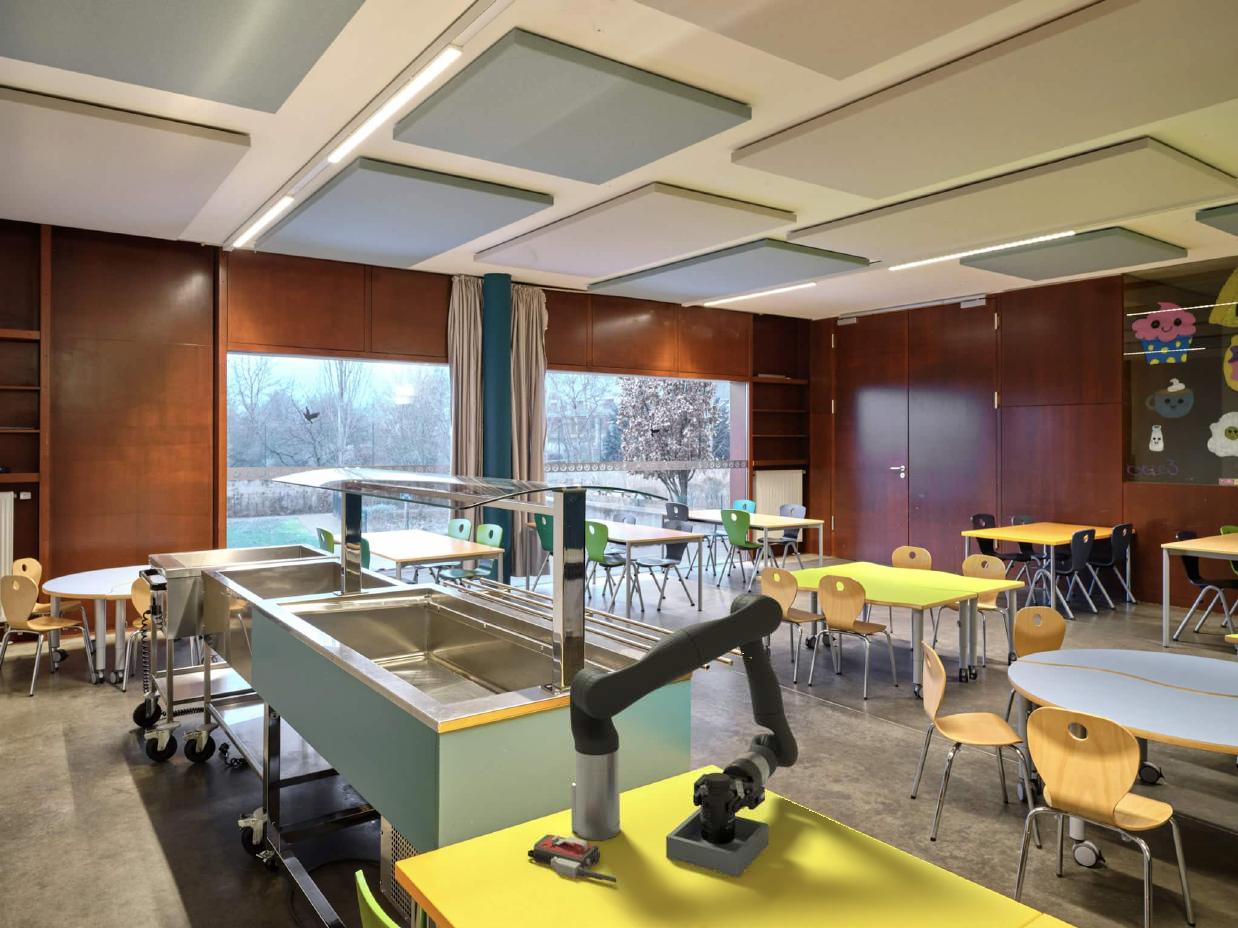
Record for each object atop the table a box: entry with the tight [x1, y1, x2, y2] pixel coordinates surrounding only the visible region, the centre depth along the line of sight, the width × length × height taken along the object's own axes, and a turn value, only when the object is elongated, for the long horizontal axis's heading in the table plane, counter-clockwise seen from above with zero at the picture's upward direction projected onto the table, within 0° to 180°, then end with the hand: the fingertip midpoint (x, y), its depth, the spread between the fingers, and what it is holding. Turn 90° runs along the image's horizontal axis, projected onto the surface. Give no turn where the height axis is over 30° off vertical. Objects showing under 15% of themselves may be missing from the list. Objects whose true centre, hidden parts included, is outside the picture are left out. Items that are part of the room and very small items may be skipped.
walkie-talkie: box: [527, 834, 617, 883], centre depth 151 cm, size 9×4×20 cm
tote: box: [665, 806, 769, 879], centre depth 156 cm, size 15×15×4 cm
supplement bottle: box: [699, 772, 736, 845], centre depth 156 cm, size 7×7×12 cm
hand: (712, 805), depth 154 cm, fingers closed on supplement bottle, 6 cm apart
